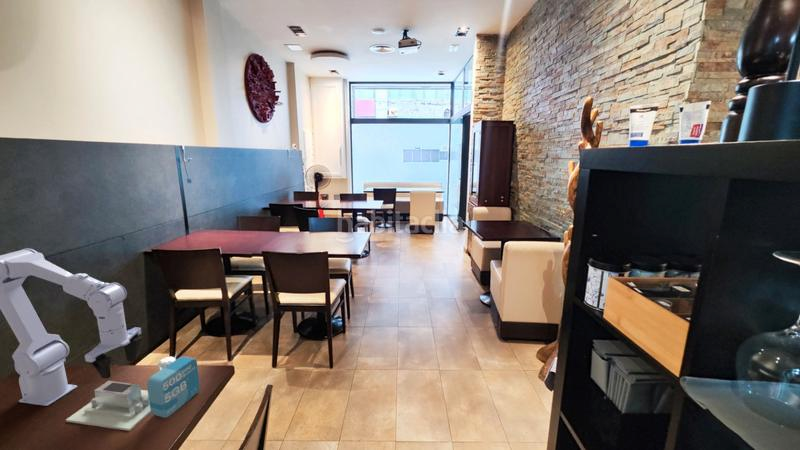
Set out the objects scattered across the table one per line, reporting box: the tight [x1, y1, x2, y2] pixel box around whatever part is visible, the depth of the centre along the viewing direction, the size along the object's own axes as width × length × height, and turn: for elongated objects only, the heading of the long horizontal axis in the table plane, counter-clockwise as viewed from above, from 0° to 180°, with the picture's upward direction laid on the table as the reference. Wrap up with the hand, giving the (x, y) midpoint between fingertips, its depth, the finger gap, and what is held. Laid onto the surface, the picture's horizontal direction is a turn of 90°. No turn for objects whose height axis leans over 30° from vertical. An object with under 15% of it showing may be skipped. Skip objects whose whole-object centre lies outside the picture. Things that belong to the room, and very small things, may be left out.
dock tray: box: [65, 389, 151, 432], centre depth 91 cm, size 19×13×3 cm
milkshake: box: [157, 351, 178, 371], centre depth 101 cm, size 5×5×10 cm
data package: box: [146, 355, 201, 419], centre depth 93 cm, size 12×4×12 cm, turn 166°
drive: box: [94, 380, 142, 413], centre depth 91 cm, size 10×4×6 cm, turn 83°
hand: (119, 368), depth 94 cm, fingers open, 7 cm apart
